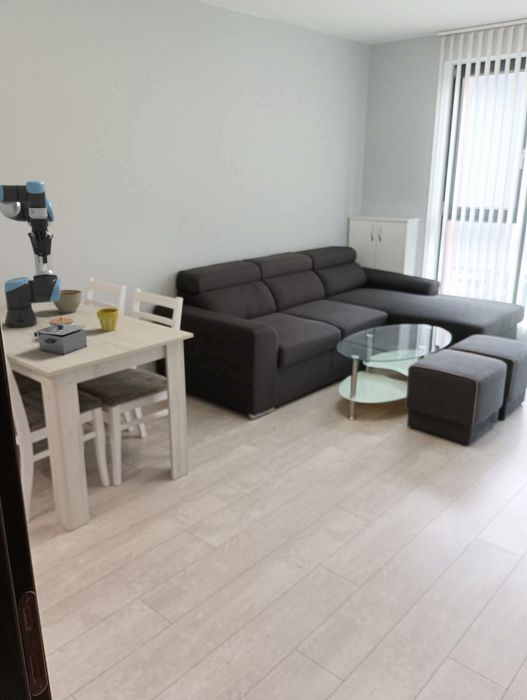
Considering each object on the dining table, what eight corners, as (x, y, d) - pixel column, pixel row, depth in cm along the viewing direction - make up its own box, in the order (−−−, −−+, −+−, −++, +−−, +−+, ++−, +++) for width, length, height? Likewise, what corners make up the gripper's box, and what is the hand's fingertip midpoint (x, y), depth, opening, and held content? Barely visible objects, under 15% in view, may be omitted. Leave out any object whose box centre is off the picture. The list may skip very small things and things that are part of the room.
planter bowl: (77, 315, 315) (76, 295, 311) (48, 314, 315) (46, 295, 312) (86, 308, 330) (85, 289, 327) (58, 307, 330) (57, 289, 327)
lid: (36, 333, 251) (35, 327, 250) (59, 326, 263) (58, 320, 262) (62, 336, 244) (61, 330, 244) (85, 328, 256) (84, 322, 256)
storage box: (34, 351, 252) (32, 332, 249) (63, 341, 267) (62, 323, 264) (61, 356, 246) (59, 337, 243) (89, 345, 260) (87, 328, 258)
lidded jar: (61, 340, 268) (59, 321, 265) (46, 337, 273) (44, 317, 270) (79, 335, 277) (77, 316, 274) (64, 332, 282) (62, 313, 279)
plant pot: (114, 332, 282) (112, 313, 279) (94, 331, 284) (93, 312, 281) (123, 327, 292) (121, 308, 289) (104, 326, 293) (102, 307, 291)
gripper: (21, 217, 254) (27, 270, 262) (43, 219, 249) (48, 273, 256) (34, 216, 261) (39, 268, 268) (56, 217, 255) (60, 270, 263)
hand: (44, 270), depth 262 cm, fingers closed
